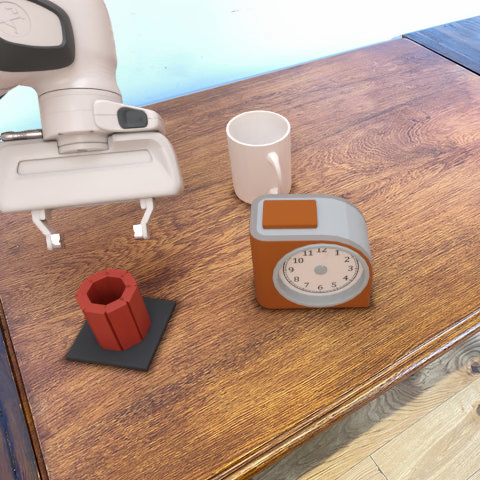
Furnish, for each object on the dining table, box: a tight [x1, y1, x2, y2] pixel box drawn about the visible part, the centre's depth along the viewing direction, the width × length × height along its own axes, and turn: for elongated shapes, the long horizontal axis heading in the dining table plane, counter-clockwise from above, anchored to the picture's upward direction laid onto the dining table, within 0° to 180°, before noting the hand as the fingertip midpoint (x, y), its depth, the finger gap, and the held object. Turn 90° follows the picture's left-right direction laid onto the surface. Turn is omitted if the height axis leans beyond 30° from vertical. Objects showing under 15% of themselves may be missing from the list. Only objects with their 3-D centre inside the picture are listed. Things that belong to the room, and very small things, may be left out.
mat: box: [65, 296, 177, 372], centre depth 64 cm, size 10×10×1 cm
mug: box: [225, 110, 293, 205], centre depth 79 cm, size 10×12×12 cm
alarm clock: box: [248, 193, 374, 310], centre depth 65 cm, size 15×8×14 cm, turn 92°
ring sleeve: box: [74, 267, 151, 351], centre depth 61 cm, size 6×6×8 cm
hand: (100, 244), depth 59 cm, fingers open, 8 cm apart
